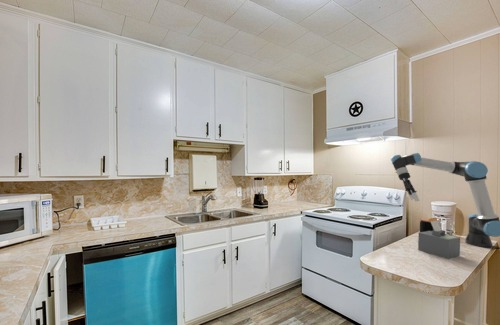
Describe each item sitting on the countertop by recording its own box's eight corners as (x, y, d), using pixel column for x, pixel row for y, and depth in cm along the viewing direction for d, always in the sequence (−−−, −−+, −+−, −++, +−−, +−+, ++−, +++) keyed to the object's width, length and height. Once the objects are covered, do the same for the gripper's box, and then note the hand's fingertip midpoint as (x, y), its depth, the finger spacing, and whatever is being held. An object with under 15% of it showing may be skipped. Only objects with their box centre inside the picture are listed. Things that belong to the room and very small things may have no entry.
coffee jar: (440, 245, 180) (440, 221, 180) (425, 245, 180) (426, 221, 180) (429, 241, 190) (430, 218, 191) (416, 240, 191) (416, 217, 191)
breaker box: (429, 247, 175) (429, 226, 176) (459, 255, 159) (460, 233, 159) (418, 249, 169) (418, 228, 169) (448, 259, 153) (449, 235, 153)
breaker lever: (439, 233, 166) (432, 218, 170) (443, 233, 164) (436, 217, 168) (435, 234, 164) (428, 218, 168) (439, 234, 162) (431, 218, 166)
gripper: (402, 178, 199) (413, 203, 190) (393, 172, 182) (405, 199, 173) (412, 174, 195) (424, 200, 185) (404, 169, 178) (417, 196, 169)
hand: (415, 200), depth 179 cm, fingers open, 13 cm apart
